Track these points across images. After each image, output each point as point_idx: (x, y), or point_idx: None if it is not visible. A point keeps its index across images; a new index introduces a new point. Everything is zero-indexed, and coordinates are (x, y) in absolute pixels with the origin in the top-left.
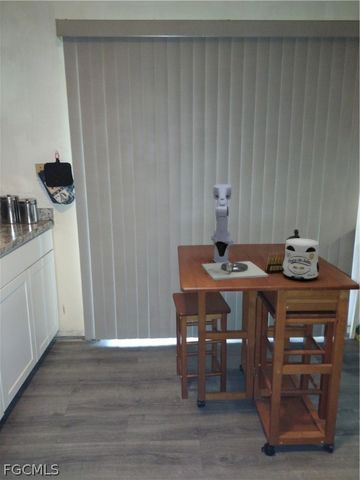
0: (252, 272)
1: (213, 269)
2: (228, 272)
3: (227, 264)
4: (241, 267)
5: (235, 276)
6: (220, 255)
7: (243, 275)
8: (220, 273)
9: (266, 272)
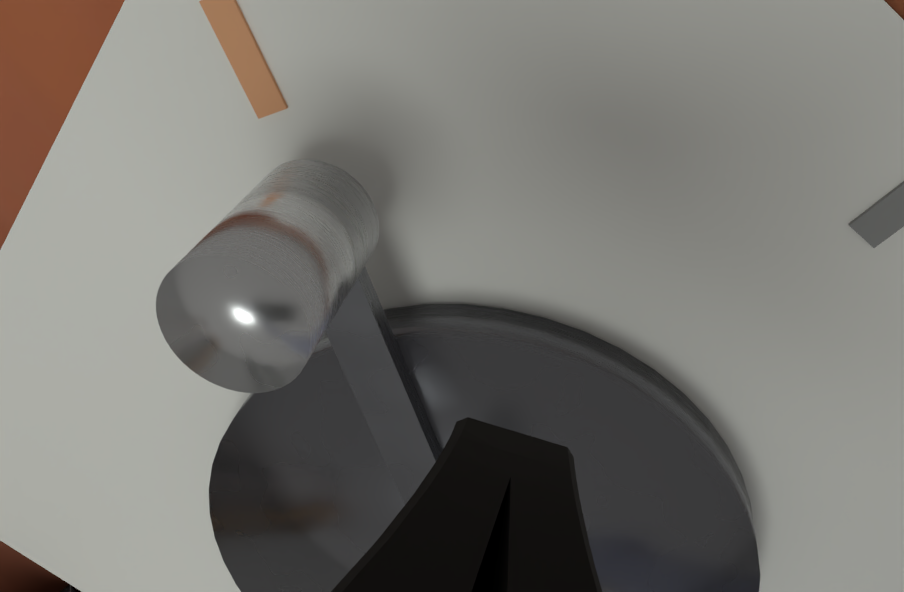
0: (104, 465)
1: (845, 270)
2: (405, 258)
3: (236, 242)
4: (293, 528)
5: (106, 95)
6: (470, 448)
7: (66, 249)
8: (501, 82)
9: (68, 587)
